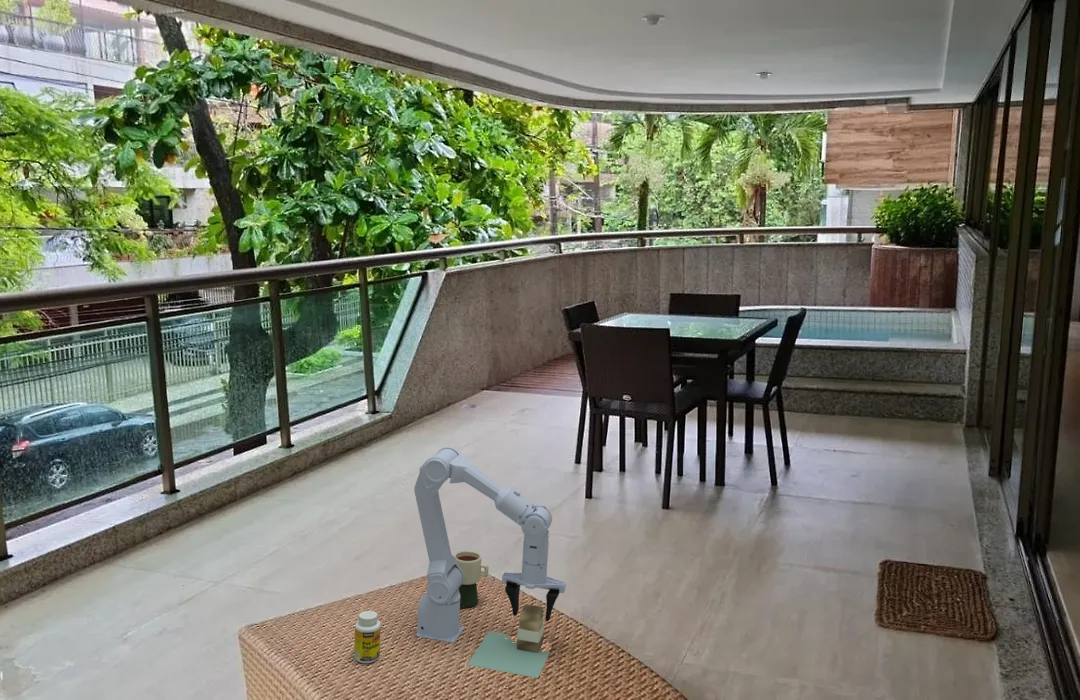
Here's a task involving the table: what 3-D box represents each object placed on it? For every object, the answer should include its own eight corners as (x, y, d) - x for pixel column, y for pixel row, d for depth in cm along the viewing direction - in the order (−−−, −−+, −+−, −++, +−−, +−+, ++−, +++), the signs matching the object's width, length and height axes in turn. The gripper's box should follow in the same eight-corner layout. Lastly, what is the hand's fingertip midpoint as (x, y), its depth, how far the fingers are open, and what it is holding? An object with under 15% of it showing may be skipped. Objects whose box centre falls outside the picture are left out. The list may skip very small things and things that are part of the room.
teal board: (467, 666, 185) (467, 664, 185) (489, 632, 201) (489, 631, 201) (537, 679, 182) (537, 677, 182) (554, 644, 197) (554, 642, 197)
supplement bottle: (359, 667, 183) (360, 622, 181) (350, 655, 187) (351, 612, 186) (383, 660, 186) (385, 617, 184) (374, 649, 190) (375, 606, 189)
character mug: (489, 600, 217) (491, 552, 215) (483, 613, 210) (486, 563, 208) (448, 595, 219) (449, 548, 217) (441, 608, 212) (443, 559, 210)
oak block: (519, 628, 192) (519, 612, 192) (524, 620, 197) (524, 603, 196) (538, 632, 191) (539, 615, 191) (542, 623, 196) (543, 607, 195)
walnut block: (516, 649, 193) (517, 639, 193) (522, 639, 198) (522, 629, 197) (537, 653, 192) (538, 642, 191) (543, 642, 197) (543, 632, 196)
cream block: (517, 639, 193) (517, 629, 192) (522, 629, 197) (523, 619, 197) (538, 642, 191) (539, 632, 191) (543, 632, 196) (544, 622, 196)
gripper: (499, 562, 189) (496, 619, 191) (562, 572, 186) (558, 629, 188) (507, 550, 196) (505, 605, 198) (568, 560, 193) (565, 615, 195)
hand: (531, 616), depth 194 cm, fingers open, 7 cm apart
